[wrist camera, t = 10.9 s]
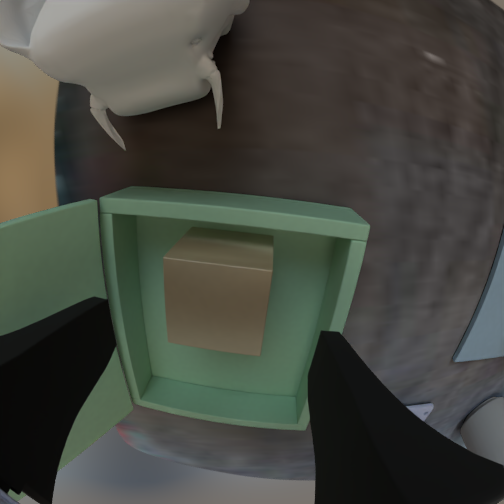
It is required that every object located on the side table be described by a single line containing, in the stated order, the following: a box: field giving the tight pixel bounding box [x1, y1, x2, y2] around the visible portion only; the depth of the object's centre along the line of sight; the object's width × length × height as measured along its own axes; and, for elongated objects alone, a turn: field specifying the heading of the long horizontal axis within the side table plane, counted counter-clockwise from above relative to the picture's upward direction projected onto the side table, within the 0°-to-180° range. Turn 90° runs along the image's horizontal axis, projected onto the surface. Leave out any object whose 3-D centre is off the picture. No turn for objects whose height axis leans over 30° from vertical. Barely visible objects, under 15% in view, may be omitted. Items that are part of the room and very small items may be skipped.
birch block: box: [163, 227, 274, 356], centre depth 13 cm, size 4×4×4 cm
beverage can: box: [460, 397, 504, 503], centre depth 14 cm, size 6×6×12 cm
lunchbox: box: [99, 186, 370, 430], centre depth 15 cm, size 11×13×3 cm
